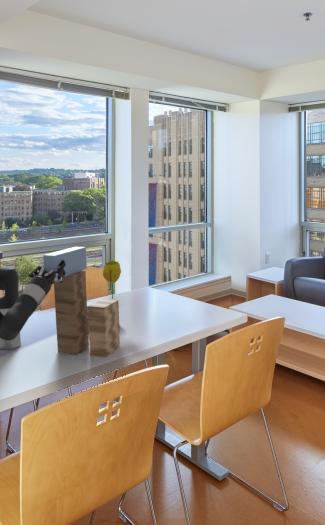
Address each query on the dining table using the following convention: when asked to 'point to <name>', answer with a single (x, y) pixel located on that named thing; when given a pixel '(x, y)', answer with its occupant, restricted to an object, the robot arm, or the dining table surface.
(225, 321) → the dining table surface
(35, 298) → the robot arm
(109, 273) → the flower
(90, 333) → the step
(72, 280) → the pedestal
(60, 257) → the rail
